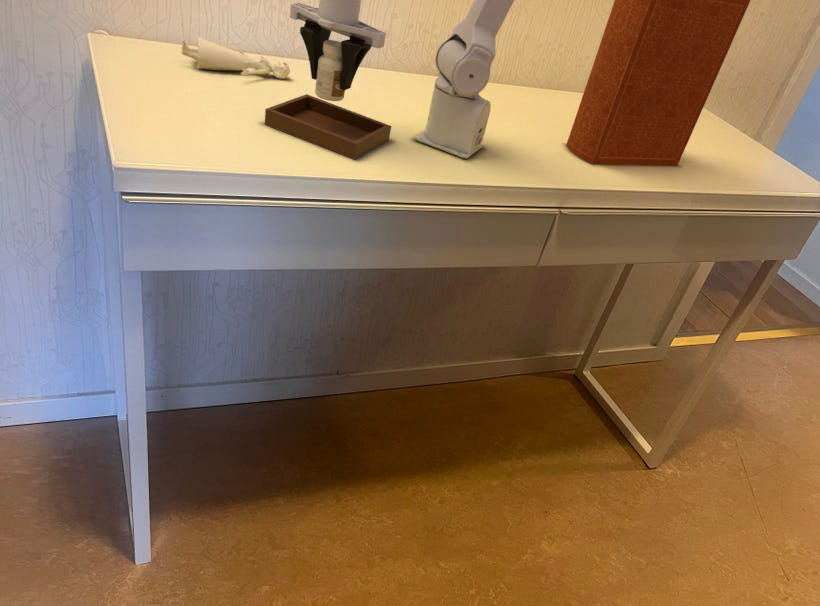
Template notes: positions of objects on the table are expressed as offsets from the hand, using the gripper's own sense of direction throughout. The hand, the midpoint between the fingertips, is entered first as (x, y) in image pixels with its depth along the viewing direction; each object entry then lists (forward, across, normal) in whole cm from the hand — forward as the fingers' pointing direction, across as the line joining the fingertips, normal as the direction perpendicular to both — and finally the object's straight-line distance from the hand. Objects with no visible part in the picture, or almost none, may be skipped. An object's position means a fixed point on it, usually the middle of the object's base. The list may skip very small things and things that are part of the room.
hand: (330, 83), depth 105 cm
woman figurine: (+7, -24, +10) cm, 27 cm away
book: (+8, +42, +39) cm, 58 cm away
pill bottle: (+2, 0, 0) cm, 2 cm away
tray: (+7, +1, -1) cm, 7 cm away
